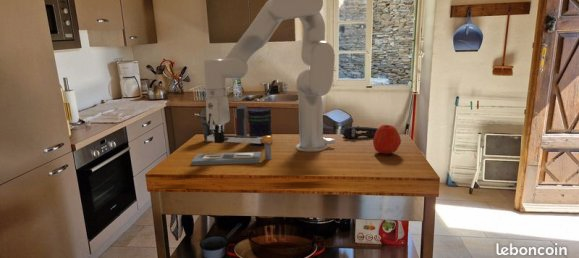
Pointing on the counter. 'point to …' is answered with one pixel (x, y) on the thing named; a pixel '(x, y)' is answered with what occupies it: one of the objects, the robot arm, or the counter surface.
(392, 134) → the apple
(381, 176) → the counter surface
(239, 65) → the robot arm
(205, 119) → the beverage cup
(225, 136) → the swing arm
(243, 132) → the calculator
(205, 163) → the label board
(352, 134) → the can opener
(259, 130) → the blue oil drum
